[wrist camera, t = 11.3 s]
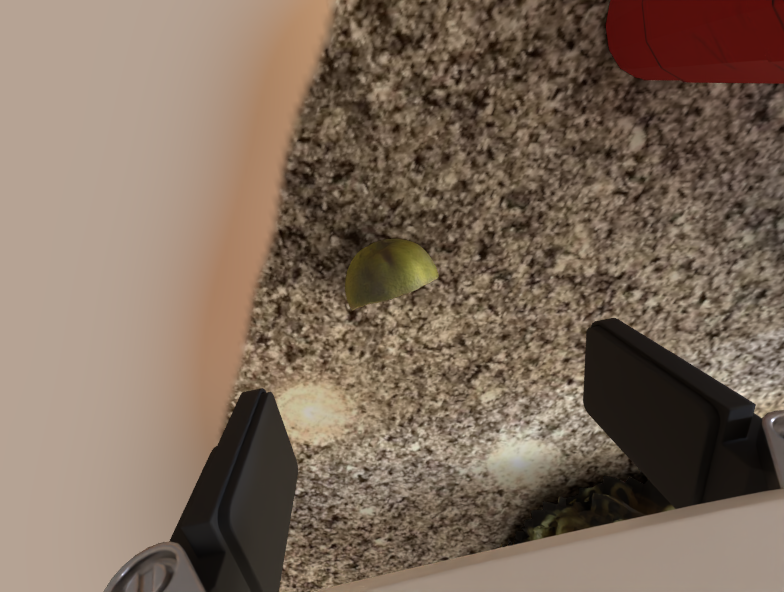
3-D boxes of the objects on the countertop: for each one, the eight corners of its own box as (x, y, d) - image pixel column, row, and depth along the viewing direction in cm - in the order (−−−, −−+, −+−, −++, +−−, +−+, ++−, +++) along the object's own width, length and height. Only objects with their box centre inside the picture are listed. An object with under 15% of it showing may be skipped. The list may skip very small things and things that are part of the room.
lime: (438, 254, 21) (462, 282, 17) (391, 316, 23) (402, 358, 18) (376, 211, 20) (384, 229, 16) (330, 279, 21) (325, 315, 17)
